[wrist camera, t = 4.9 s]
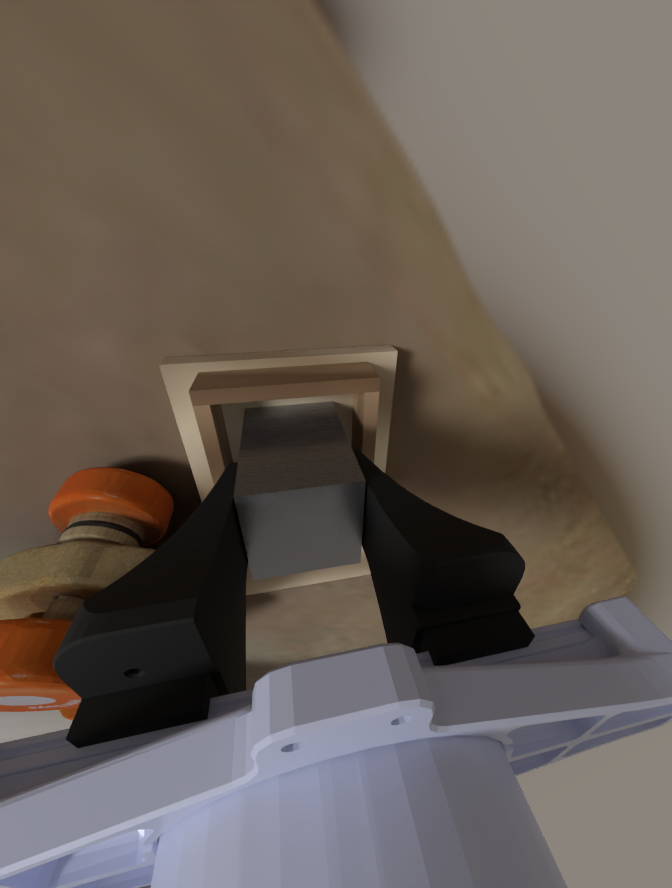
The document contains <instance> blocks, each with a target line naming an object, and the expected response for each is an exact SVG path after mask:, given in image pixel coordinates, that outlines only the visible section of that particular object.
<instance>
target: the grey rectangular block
mask: <svg viewBox="0 0 672 888" xmlns="http://www.w3.org/2000/svg"><path fill="white" fill-rule="evenodd" d="M365 483H366V481H365V478H364V476H363V473H362V471H361V469H360V466H359V464H358V462H357V459H356V457H355V454H354V452H353V450H352V447H351V445H350V442H349V440H348V438H347V435H346V433H345V431H344V428H343V426H342V423H341V421H340V419H339V416H338V414H337V411H336V409H335V407H334V404H333V402H332V401H329V402H317V403H305V404H292V405H280V406H268V407H255V408H245V411H244V419H243V427H242V435H241V443H240V451H239V459H238V466H237V474H236V482H235V490H234V501H235V505H236V510H237V514H238V518H239V522H240V527H241V531H242V535H243V539H244V544H245V548H246V552H247V556H248V561H249V565H250V569H251V573H252V578H253V580H259V579H265V578H271V577H277V576H283V575H289V574H296V573H302V572H308V571H314V570H320V569H326V568H332V567H338V566H344V565H351V564H357V563H361V548H362V532H363V516H364V500H365Z"/></svg>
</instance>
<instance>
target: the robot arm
mask: <svg viewBox="0 0 672 888" xmlns="http://www.w3.org/2000/svg"><path fill="white" fill-rule="evenodd" d="M353 452H354V454H355V457H356V459H357V462H358V464H359V466H360V469H361V471H362V473H363V476H364V478H365V481H366V483H365V500H364V516H363V532H362V547H363V550H364V553H365V555H366V559H367V562H368V565H369V569H370V573H371V576H372V580H373V584H374V588H375V592H376V596H377V600H378V604H379V608H380V612H381V616H382V621H383V625H384V629H385V634H386V638H387V644H378V645H373V646H368V647H364V648H359V649H354V650H349V651H344V652H339V653H335V654H330V655H325V656H320V657H315V658H310V659H306V660H301V661H296V662H291V663H288V664H285V665H282V666H279V667H276V668H273V669H271V670H270V671H269V672H267V673H266V674H264V675H263V676H262V677H260V678H259V679H258V680H257V682H256V683H255V686H254V689H251V690H246V580H247V569H248V556H247V552H246V548H245V544H244V539H243V535H242V531H241V527H240V522H239V518H238V514H237V510H236V505H235V501H234V490H235V482H236V474H237V466H238V462H233V463H229V464H228V465H227V467H226V468H225V470H224V471H223V473H222V475H221V476H220V478H219V479H218V481H217V482H216V484H215V485H214V487H213V488H212V489H211V491H210V492H209V494H208V495H207V496H206V498H205V499H204V500H203V502H202V503H201V504H200V505H199V507H198V508H197V509H196V510H195V511H194V513H193V514H192V515H191V516H190V517H189V519H188V520H187V521H186V522H185V523H184V524H183V525H182V526H181V527H180V528H179V529H178V530H177V531H176V532H175V533H174V534H173V535H172V536H171V537H170V538H169V539H168V540H167V541H166V542H164V543H163V544H162V545H161V546H160V547H159V548H158V549H157V550H155V551H154V552H153V553H152V554H151V555H150V556H148V557H147V558H146V559H145V560H143V561H142V562H141V563H139V564H138V565H137V566H135V567H134V568H133V569H131V570H130V571H129V572H127V573H126V574H125V575H123V576H122V577H120V578H119V579H118V580H116V581H115V582H113V583H112V584H110V585H109V586H107V587H106V588H104V589H103V590H101V591H100V592H98V593H96V594H95V595H93V596H92V597H90V598H89V599H87V600H86V601H84V602H83V604H82V605H81V607H80V609H79V610H78V612H77V614H76V615H75V617H74V619H73V621H72V623H71V625H70V627H69V629H68V631H67V633H66V635H65V637H64V639H63V641H62V643H61V645H60V646H59V648H58V650H57V652H56V654H55V656H54V658H53V669H54V670H55V672H56V673H57V675H58V676H59V678H60V679H61V680H62V681H64V682H65V683H66V684H67V685H68V686H69V687H70V688H71V689H72V690H73V691H74V692H75V693H76V694H77V695H79V696H80V697H81V698H82V699H81V702H80V704H79V707H78V709H77V712H76V714H75V717H74V719H73V722H72V724H71V727H70V729H65V730H61V731H56V732H51V733H47V734H42V735H37V736H33V737H28V738H24V739H19V740H14V741H10V742H5V743H0V888H567V885H566V884H565V881H564V879H563V877H562V875H561V873H560V871H559V868H558V866H557V864H556V862H555V860H554V858H553V855H552V853H551V851H550V849H549V847H548V845H547V843H546V840H545V838H544V836H543V835H542V832H541V830H540V828H539V826H538V823H537V821H536V819H535V817H534V815H533V813H532V811H531V809H530V806H529V804H528V802H527V800H526V798H525V796H524V793H523V791H522V789H521V787H520V785H519V783H518V781H517V778H516V776H518V775H521V774H524V773H526V772H529V771H532V770H534V769H537V768H540V767H543V766H546V765H548V764H551V763H554V762H557V761H560V760H562V759H565V758H568V757H571V756H573V755H576V754H579V753H582V752H584V751H587V750H590V749H593V748H596V747H599V746H601V745H604V744H607V743H610V742H613V741H616V740H619V739H622V738H625V737H628V736H631V735H635V734H638V733H641V732H644V731H648V730H651V729H654V728H658V727H661V726H664V725H665V724H667V723H668V722H670V721H671V720H672V641H671V640H670V639H669V638H668V637H667V636H666V635H664V633H662V632H661V631H660V630H659V629H658V628H657V627H656V626H655V625H654V624H653V623H652V622H651V621H650V620H649V619H648V618H647V617H646V616H645V615H644V614H643V613H642V612H641V611H640V610H639V609H638V608H637V607H636V606H635V605H634V604H633V603H632V602H631V601H630V600H629V599H628V598H627V597H617V598H613V599H608V600H603V601H598V602H595V603H592V604H590V605H588V606H587V607H586V608H585V609H583V611H582V612H581V614H580V616H579V619H575V620H570V621H566V622H561V623H557V624H552V625H547V626H543V627H538V628H533V629H530V628H529V626H528V625H527V623H526V622H525V620H524V619H523V617H522V616H521V614H520V613H519V611H518V610H520V608H521V606H520V604H519V602H518V601H517V599H516V598H515V596H514V595H513V594H514V592H515V590H516V588H517V586H518V584H519V583H520V581H521V579H522V576H523V573H524V571H525V561H524V560H523V558H522V557H521V556H520V554H519V553H518V552H517V551H516V549H515V548H514V547H513V546H512V544H511V543H510V542H509V541H508V540H507V539H506V537H505V536H504V535H503V534H501V533H498V532H495V531H492V530H489V529H486V528H483V527H480V526H477V525H474V524H472V523H469V522H467V521H464V520H462V519H460V518H457V517H455V516H453V515H450V514H448V513H446V512H444V511H442V510H440V509H438V508H436V507H434V506H432V505H430V504H429V503H427V502H425V501H423V500H422V499H420V498H418V497H417V496H415V495H414V494H412V493H410V492H409V491H407V490H406V489H405V488H403V487H402V486H400V485H399V484H398V483H396V482H395V481H394V480H392V479H391V478H390V477H389V476H388V475H386V474H385V473H384V472H383V471H382V470H380V469H379V468H378V467H377V466H376V465H375V464H374V463H373V462H372V461H371V460H369V459H368V458H367V457H366V456H365V455H364V454H363V453H362V452H361V451H360V450H359V449H355V450H353Z"/></svg>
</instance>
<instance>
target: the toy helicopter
mask: <svg viewBox="0 0 672 888" xmlns="http://www.w3.org/2000/svg"><path fill="white" fill-rule="evenodd" d="M173 509H174V504H173V499H172V496H171V495H170V494H169V493H168V491H167V490H166V489H164V488H163V487H162V486H161V485H160V484H159V483H157V482H156V481H154V480H153V479H151V478H148V477H146V476H144V475H141V474H138V473H135V472H132V471H129V470H125V469H121V468H113V467H97V468H89V469H85V470H81V471H78V472H76V473H74V474H73V475H71V476H70V477H69V478H68V479H67V480H66V481H65V482H64V484H63V485H62V487H61V488H60V490H59V491H58V493H57V494H56V495H55V497H54V498H53V500H52V501H51V503H50V506H49V511H48V514H49V518H50V519H51V521H52V523H53V524H54V525H55V526H56V527H57V528H58V529H59V530H60V531H61V532H63V534H62V536H61V538H60V539H59V541H58V543H57V544H52V545H46V546H41V547H35V548H31V549H27V550H24V551H21V552H18V553H16V554H13V555H11V556H9V557H7V558H6V559H4V560H3V561H1V562H0V711H11V712H23V711H46V710H60V712H61V714H62V715H63V717H65V718H67V719H70V720H73V719H74V717H75V714H76V712H77V709H78V707H79V704H80V702H81V699H82V698H81V697H80V696H79V695H77V694H76V693H75V692H74V691H73V690H72V689H71V688H70V687H69V686H68V685H67V684H66V683H65V682H64V681H62V680H61V679H60V678H59V676H58V675H57V673H56V672H55V670H54V669H53V658H54V656H55V654H56V652H57V650H58V648H59V646H60V645H61V643H62V641H63V639H64V637H65V635H66V633H67V631H68V629H69V627H70V625H71V623H72V621H73V619H74V617H75V615H76V614H77V612H78V610H79V609H80V607H81V605H82V604H83V602H84V601H86V600H87V599H89V598H90V597H92V596H93V595H95V594H96V593H98V592H100V591H101V590H103V589H104V588H106V587H107V586H109V585H110V584H112V583H113V582H115V581H116V580H118V579H119V578H120V577H122V576H123V575H125V574H126V573H127V572H129V571H130V570H131V569H133V568H134V567H135V566H137V565H138V564H139V563H141V562H142V561H143V560H145V559H146V558H147V557H148V556H150V555H151V554H152V553H153V552H154V551H155V550H154V549H148V548H142V547H146V546H150V545H152V544H154V543H156V542H158V541H159V540H160V539H161V538H162V537H163V536H164V535H165V533H166V530H167V528H168V525H169V522H170V519H171V516H172V513H173Z"/></svg>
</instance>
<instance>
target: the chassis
mask: <svg viewBox="0 0 672 888" xmlns="http://www.w3.org/2000/svg"><path fill="white" fill-rule="evenodd" d="M397 354H398V351H397V350H396V349H395V348H394V347H392V346H391V345H382V346H363V347H345V348H327V349H309V350H291V351H273V352H255V353H237V354H218V355H200V356H182V357H166V358H165V359H164V360H163V361H162V362H161V363H160V364H159V366H160V370H161V373H162V376H163V379H164V382H165V386H166V389H167V392H168V395H169V399H170V402H171V405H172V408H173V411H174V415H175V418H176V421H177V424H178V428H179V431H180V434H181V437H182V440H183V444H184V447H185V450H186V453H187V456H188V460H189V463H190V466H191V469H192V473H193V476H194V479H195V482H196V485H197V489H198V492H199V495H200V498H201V501H202V502H203V500H204V499H205V498H206V496H207V495H208V494H209V492H210V491H211V489H212V488H213V487H214V485H215V484H216V482H217V481H218V479H219V478H220V476H221V475H222V473H223V471H224V470H225V468H226V467H227V465H228V464H229V463H233V462H238V459H239V451H240V443H241V435H242V427H243V419H244V411H245V408H255V407H268V406H280V405H292V404H305V403H317V402H329V401H332V402H333V404H334V407H335V409H336V411H337V414H338V416H339V419H340V421H341V423H342V426H343V428H344V431H345V433H346V435H347V438H348V440H349V442H350V445H351V447H352V450H355V449H359V450H360V451H361V452H362V453H363V454H364V455H365V456H366V457H367V458H368V459H369V460H371V461H372V462H373V463H374V464H375V465H376V466H377V467H378V468H379V469H380V470H382V471H383V472H384V473H385V470H386V461H387V451H388V441H389V432H390V422H391V412H392V402H393V393H394V383H395V373H396V364H397ZM368 574H371V573H370V569H369V565H368V562H367V559H366V555H365V553H364V550H363V547H362V548H361V563H357V564H351V565H344V566H338V567H332V568H326V569H320V570H314V571H308V572H302V573H296V574H289V575H283V576H277V577H271V578H265V579H259V580H253V578H252V573H251V569H250V565H249V561H248V569H247V580H246V595H251V594H257V593H263V592H269V591H275V590H280V589H286V588H292V587H298V586H304V585H310V584H315V583H321V582H327V581H333V580H339V579H345V578H350V577H356V576H362V575H368Z"/></svg>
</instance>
